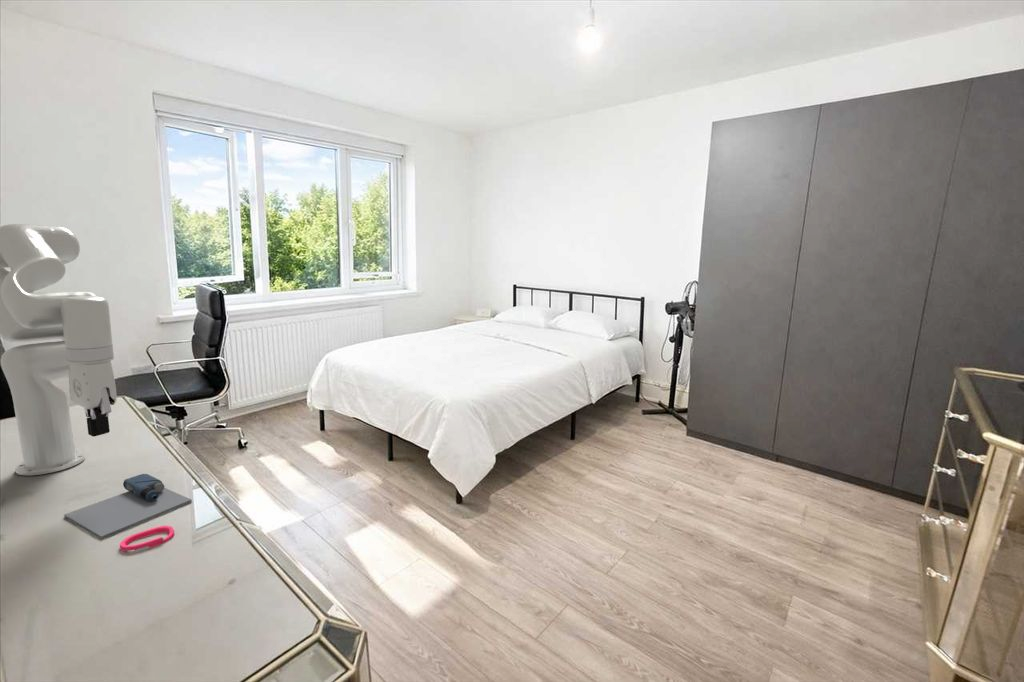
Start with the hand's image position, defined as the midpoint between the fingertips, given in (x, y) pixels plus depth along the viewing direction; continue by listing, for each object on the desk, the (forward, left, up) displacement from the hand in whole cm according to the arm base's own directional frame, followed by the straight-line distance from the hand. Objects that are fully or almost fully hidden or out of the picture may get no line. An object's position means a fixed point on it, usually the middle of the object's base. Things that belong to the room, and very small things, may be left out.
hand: (99, 433), depth 103 cm
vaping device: (+3, +4, -12) cm, 13 cm away
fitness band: (+29, -5, -15) cm, 33 cm away
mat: (+13, -1, -14) cm, 19 cm away
